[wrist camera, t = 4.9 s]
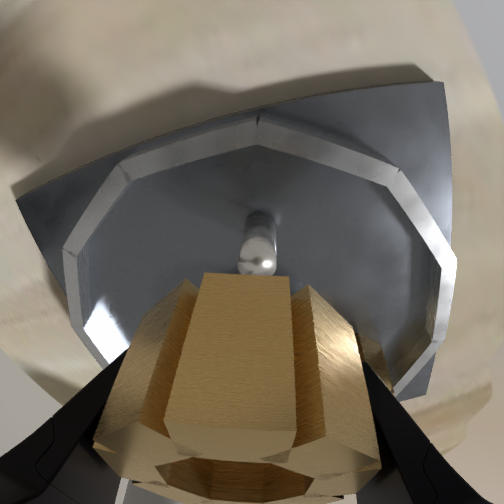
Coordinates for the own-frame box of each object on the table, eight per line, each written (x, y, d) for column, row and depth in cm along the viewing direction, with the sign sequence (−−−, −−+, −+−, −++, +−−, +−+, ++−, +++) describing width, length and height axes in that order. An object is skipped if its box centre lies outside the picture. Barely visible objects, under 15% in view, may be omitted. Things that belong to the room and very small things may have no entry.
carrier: (24, 194, 17) (-19, 225, 13) (434, 80, 13) (483, 88, 9) (168, 419, 29) (159, 455, 26) (422, 386, 25) (435, 426, 21)
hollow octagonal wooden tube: (163, 403, 11) (140, 496, 8) (124, 267, 8) (52, 394, 4) (328, 412, 11) (336, 510, 7) (373, 279, 8) (422, 421, 4)
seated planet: (289, 343, 21) (291, 393, 17) (382, 326, 20) (396, 373, 16) (303, 394, 24) (305, 437, 20) (380, 379, 23) (390, 421, 19)
